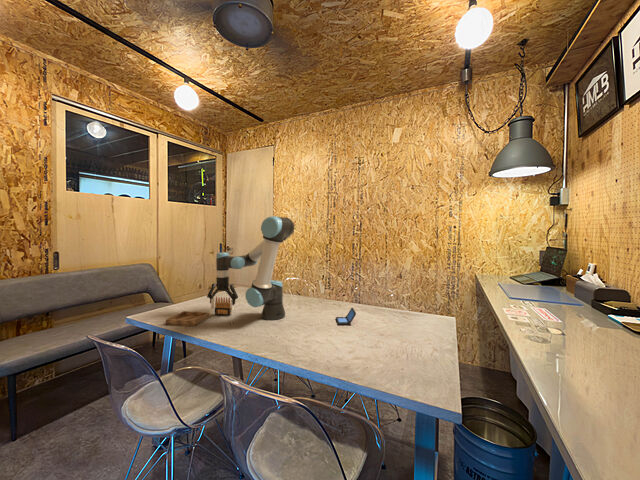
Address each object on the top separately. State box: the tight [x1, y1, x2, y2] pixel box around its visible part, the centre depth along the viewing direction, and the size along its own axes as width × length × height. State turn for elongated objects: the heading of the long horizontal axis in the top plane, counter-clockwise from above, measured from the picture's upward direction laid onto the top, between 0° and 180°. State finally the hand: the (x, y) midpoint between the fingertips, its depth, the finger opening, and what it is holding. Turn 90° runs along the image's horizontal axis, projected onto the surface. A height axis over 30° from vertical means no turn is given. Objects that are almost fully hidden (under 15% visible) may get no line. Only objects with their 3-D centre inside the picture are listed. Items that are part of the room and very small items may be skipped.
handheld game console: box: [335, 307, 357, 327], centre depth 157 cm, size 12×11×7 cm
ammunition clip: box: [214, 296, 232, 317], centre depth 167 cm, size 11×2×12 cm, turn 82°
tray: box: [165, 310, 211, 327], centre depth 157 cm, size 18×16×3 cm
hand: (222, 309), depth 167 cm, fingers open, 13 cm apart
